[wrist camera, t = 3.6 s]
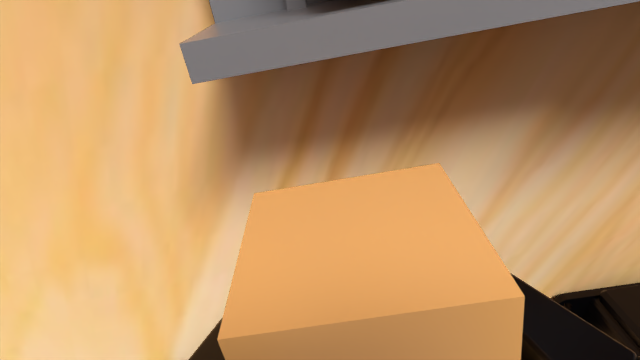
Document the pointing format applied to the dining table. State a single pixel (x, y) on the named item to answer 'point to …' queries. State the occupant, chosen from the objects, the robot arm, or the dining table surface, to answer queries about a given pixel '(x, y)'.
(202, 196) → the dining table surface
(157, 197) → the dining table surface
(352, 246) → the orange cube
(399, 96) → the dining table surface
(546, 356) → the robot arm
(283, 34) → the housing
